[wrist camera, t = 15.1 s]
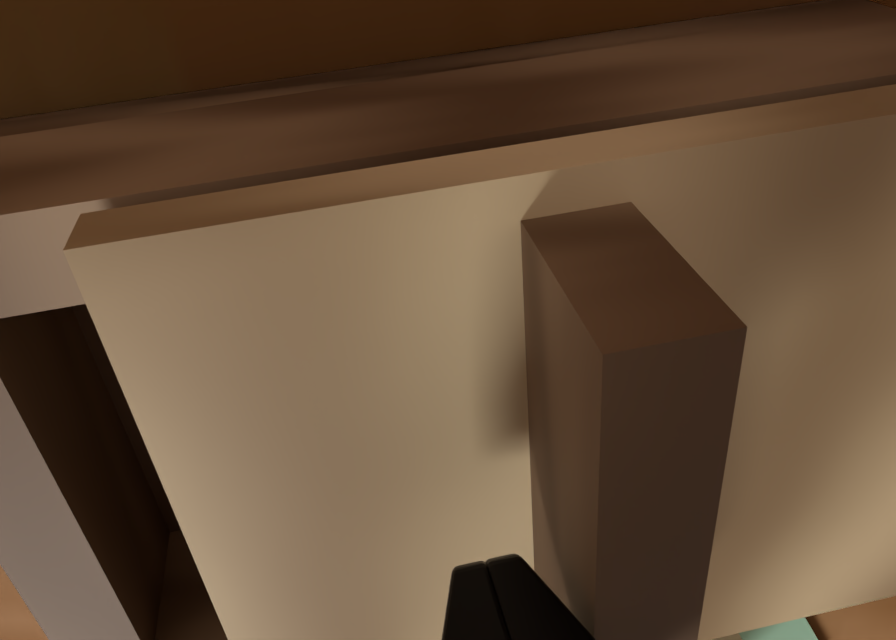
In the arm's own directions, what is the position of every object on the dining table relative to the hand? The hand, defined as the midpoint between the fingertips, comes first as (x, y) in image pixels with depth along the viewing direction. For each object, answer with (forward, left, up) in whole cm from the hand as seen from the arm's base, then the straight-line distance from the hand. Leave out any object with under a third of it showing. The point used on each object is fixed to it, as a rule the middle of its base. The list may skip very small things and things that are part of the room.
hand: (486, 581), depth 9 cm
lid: (+4, -2, -2) cm, 5 cm away
